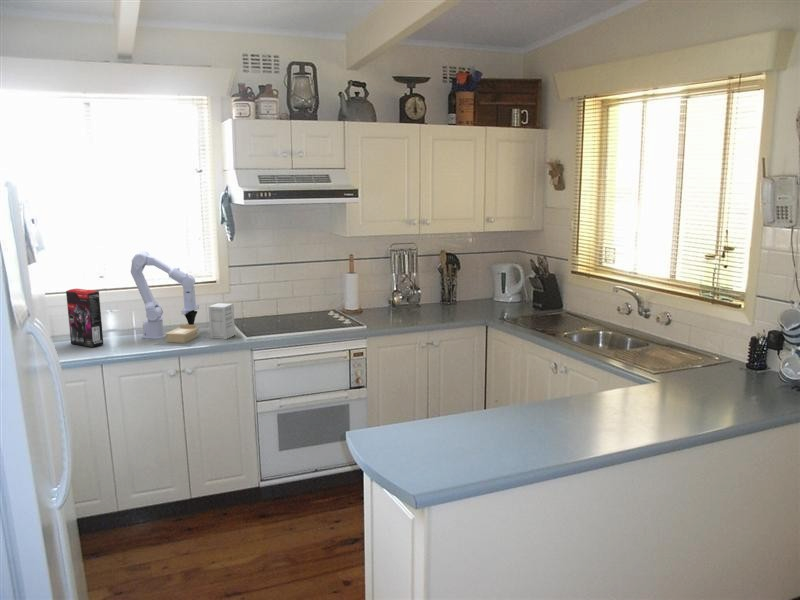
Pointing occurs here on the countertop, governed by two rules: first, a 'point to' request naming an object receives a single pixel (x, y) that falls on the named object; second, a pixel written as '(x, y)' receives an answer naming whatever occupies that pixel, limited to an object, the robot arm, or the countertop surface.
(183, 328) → the kraft lid
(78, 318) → the graphics card box
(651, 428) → the countertop surface
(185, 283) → the robot arm
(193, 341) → the slate mat
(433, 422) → the countertop surface
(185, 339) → the kraft box
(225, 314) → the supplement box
